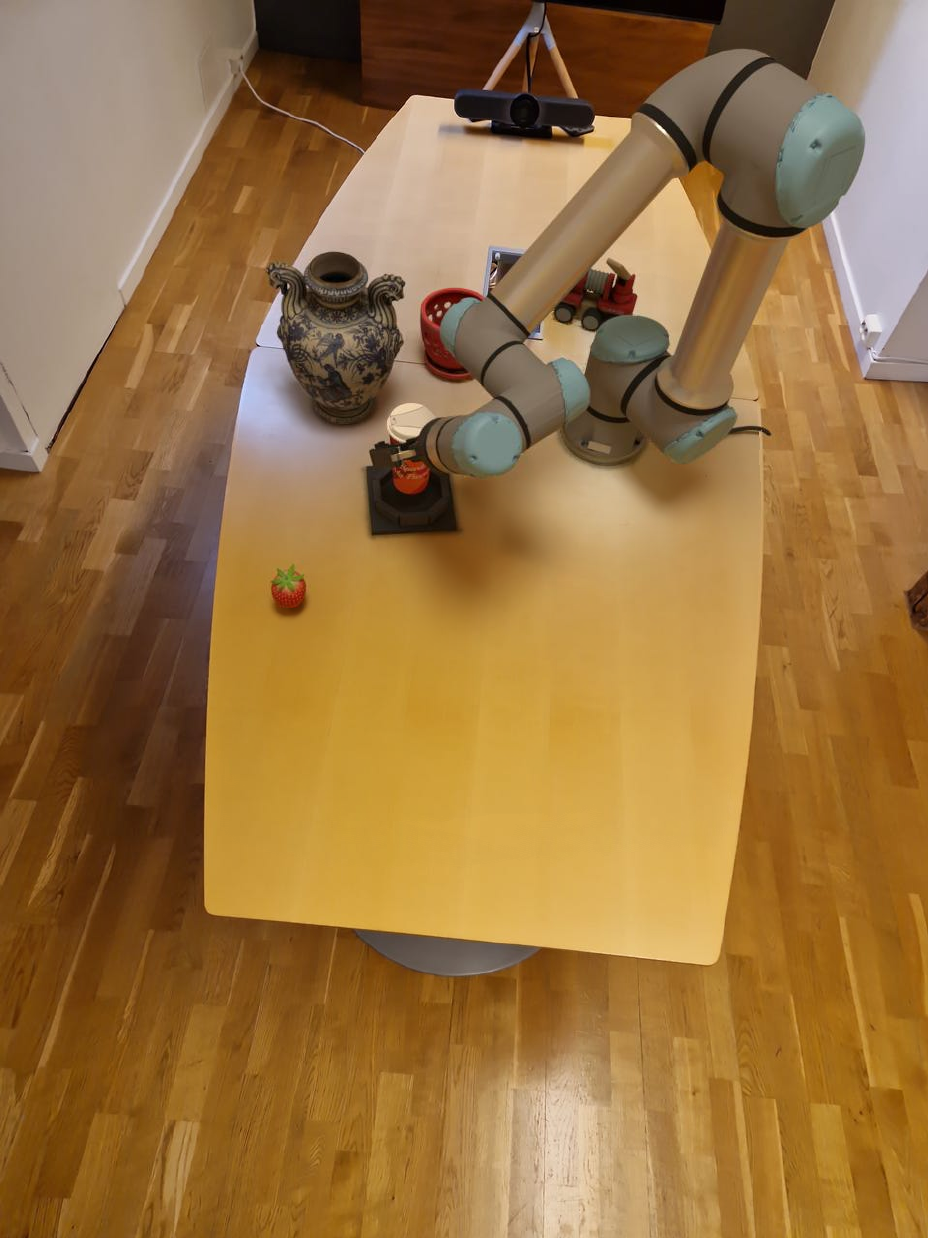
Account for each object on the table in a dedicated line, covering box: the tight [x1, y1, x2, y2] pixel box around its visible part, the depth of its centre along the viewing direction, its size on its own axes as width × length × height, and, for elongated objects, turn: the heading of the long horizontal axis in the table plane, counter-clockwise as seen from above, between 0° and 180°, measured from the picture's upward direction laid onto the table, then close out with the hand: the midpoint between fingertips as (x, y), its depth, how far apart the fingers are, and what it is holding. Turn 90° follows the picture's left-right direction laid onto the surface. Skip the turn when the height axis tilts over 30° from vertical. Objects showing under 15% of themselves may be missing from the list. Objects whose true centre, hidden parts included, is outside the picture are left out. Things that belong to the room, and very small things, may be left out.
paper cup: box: [386, 402, 437, 494], centre depth 127 cm, size 8×8×14 cm
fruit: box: [270, 563, 307, 608], centre depth 122 cm, size 5×5×8 cm
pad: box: [365, 465, 458, 536], centre depth 136 cm, size 14×14×3 cm
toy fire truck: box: [553, 257, 638, 332], centre depth 156 cm, size 11×16×18 cm
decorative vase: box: [265, 251, 406, 425], centre depth 135 cm, size 21×19×28 cm
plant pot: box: [419, 287, 486, 380], centre depth 150 cm, size 13×13×12 cm
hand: (403, 445), depth 130 cm, fingers closed on paper cup, 8 cm apart
